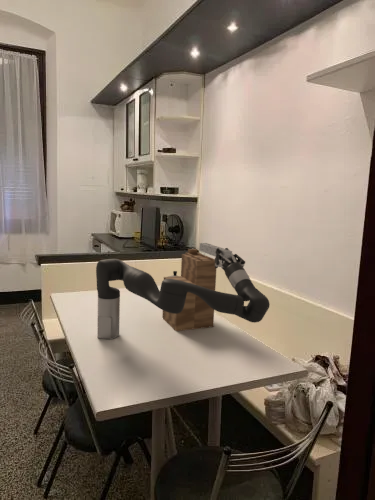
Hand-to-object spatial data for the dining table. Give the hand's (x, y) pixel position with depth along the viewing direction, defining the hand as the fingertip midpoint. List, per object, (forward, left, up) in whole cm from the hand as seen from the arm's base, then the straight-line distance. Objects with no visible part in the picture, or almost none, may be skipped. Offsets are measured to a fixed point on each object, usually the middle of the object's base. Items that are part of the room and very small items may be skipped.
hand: (221, 249), depth 164 cm
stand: (+15, +16, -39) cm, 45 cm away
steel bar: (+5, +3, -3) cm, 7 cm away
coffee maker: (+45, +30, -39) cm, 67 cm away
